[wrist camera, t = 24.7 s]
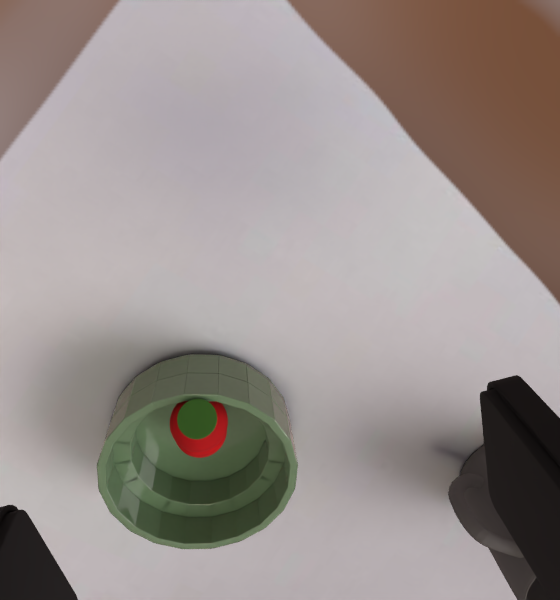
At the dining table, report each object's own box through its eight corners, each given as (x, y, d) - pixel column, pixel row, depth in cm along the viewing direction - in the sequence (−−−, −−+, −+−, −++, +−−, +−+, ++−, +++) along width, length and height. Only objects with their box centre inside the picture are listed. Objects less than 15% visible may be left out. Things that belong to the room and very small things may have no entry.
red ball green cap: (183, 466, 42) (179, 463, 38) (171, 417, 43) (165, 408, 39) (232, 450, 43) (233, 445, 39) (219, 402, 44) (218, 392, 40)
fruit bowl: (148, 509, 47) (138, 567, 42) (86, 376, 41) (64, 424, 36) (304, 469, 47) (315, 522, 41) (264, 330, 41) (270, 371, 35)
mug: (572, 450, 49) (672, 562, 38) (515, 520, 52) (592, 643, 41) (451, 403, 45) (522, 511, 34) (396, 482, 48) (446, 604, 38)
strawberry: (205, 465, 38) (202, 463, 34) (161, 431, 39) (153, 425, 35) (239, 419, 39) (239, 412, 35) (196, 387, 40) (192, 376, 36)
